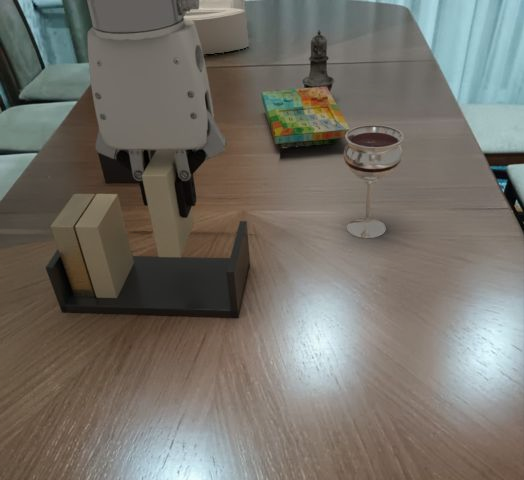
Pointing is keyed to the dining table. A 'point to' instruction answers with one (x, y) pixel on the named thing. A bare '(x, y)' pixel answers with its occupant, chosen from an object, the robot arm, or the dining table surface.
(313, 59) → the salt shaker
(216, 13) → the wavy white extrusion
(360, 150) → the wineglass
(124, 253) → the black book holder
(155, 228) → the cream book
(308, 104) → the puzzle game
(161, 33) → the robot arm
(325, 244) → the dining table surface
